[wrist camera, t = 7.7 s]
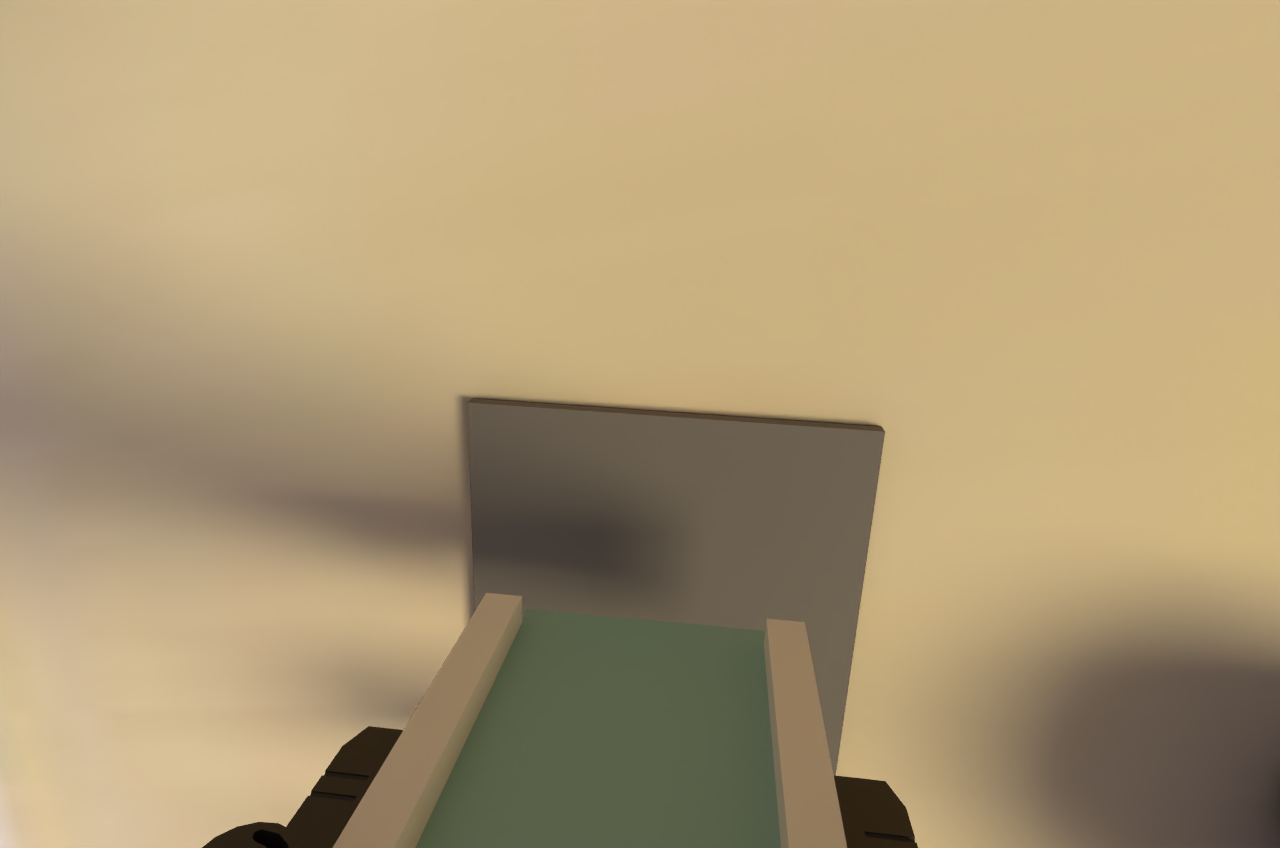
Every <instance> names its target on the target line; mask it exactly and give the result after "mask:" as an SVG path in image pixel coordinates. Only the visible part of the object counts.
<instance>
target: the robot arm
mask: <svg viewBox="0 0 1280 848" xmlns="http://www.w3.org/2000/svg"><path fill="white" fill-rule="evenodd" d="M521 624H522V596H515V595H504V594H493V593H486V594H485V596H484V597H483V599H482V601H481V602H480V604H479V606H478V607H477V609H476V611H475V612H474V614H473V615H472V617H471V619H470V620H469V622H468V624H467V625H466V627H465V629H464V630H463V632H462V634H461V635H460V637H459V639H458V640H457V642H456V644H455V645H454V647H453V649H452V650H451V652H450V654H449V655H448V657H447V659H446V660H445V662H444V664H443V665H442V667H441V669H440V670H439V672H438V674H437V675H436V677H435V679H434V680H433V682H432V684H431V685H430V687H429V689H428V690H427V692H426V694H425V695H424V697H423V698H422V700H421V702H420V703H419V705H418V707H417V708H416V710H415V712H414V713H413V715H412V717H411V718H410V720H409V722H408V723H407V725H406V727H405V728H404V730H397V729H388V728H379V727H370V726H369V727H367V728H366V729H365V730H363V731H362V732H361V733H359V734H358V735H357V736H355V737H354V738H353V739H351V740H350V741H349V742H347V743H346V744H345V745H343V746H342V748H341V749H340V751H339V752H338V753H337V755H336V756H335V758H334V759H333V761H332V762H331V763H330V765H329V766H328V768H327V769H326V771H325V775H324V776H321V778H320V779H319V781H318V782H317V784H316V785H315V786H314V788H313V789H312V791H311V795H310V796H308V797H307V798H306V799H305V801H304V802H303V804H302V805H301V807H300V808H299V809H298V811H297V812H296V814H295V815H294V817H293V818H292V820H291V821H290V822H289V824H288V825H287V827H284V826H282V825H280V824H279V823H265V822H257V823H253V824H248V825H243V826H239V827H236V828H234V829H232V830H229V831H227V832H225V833H223V834H221V835H219V836H217V837H215V838H214V839H212V840H211V841H210V842H209V843H207V844H206V845H205V846H204V847H202V848H415V847H416V845H417V843H418V841H419V839H420V837H421V835H422V832H423V830H424V828H425V826H426V824H427V822H428V820H429V818H430V816H431V814H432V811H433V809H434V807H435V805H436V803H437V801H438V799H439V797H440V795H441V792H442V790H443V788H444V786H445V784H446V782H447V780H448V778H449V776H450V773H451V771H452V769H453V767H454V765H455V763H456V761H457V759H458V757H459V755H460V752H461V750H462V748H463V746H464V744H465V742H466V740H467V738H468V736H469V733H470V731H471V729H472V727H473V725H474V723H475V721H476V719H477V717H478V714H479V712H480V710H481V708H482V706H483V704H484V702H485V700H486V698H487V696H488V693H489V691H490V689H491V687H492V685H493V683H494V681H495V679H496V677H497V674H498V672H499V670H500V668H501V666H502V664H503V662H504V660H505V658H506V656H507V653H508V651H509V649H510V647H511V645H512V643H513V641H514V639H515V637H516V634H517V632H518V630H519V628H520V626H521ZM764 654H765V666H766V678H767V689H768V701H769V713H770V725H771V736H772V748H773V760H774V771H775V783H776V795H777V807H778V818H779V830H780V842H781V848H918V847H917V843H915V837H914V833H913V830H912V826H911V823H910V820H909V816H908V813H907V810H906V807H905V806H904V805H903V803H902V802H901V801H900V800H899V798H898V797H897V796H896V794H895V793H894V792H893V791H892V789H891V788H890V787H889V785H888V784H887V783H886V781H878V780H869V779H860V778H851V777H842V776H834V775H833V769H832V764H831V759H830V753H829V748H828V743H827V737H826V732H825V727H824V721H823V716H822V711H821V705H820V700H819V695H818V689H817V684H816V679H815V673H814V668H813V663H812V657H811V652H810V647H809V641H808V636H807V631H806V625H805V622H798V621H788V620H777V619H766V628H765V638H764Z"/></svg>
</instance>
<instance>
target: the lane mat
mask: <svg viewBox="0 0 1280 848" xmlns="http://www.w3.org/2000/svg"><path fill="white" fill-rule="evenodd" d="M468 427H469V458H470V488H471V519H472V549H473V580H474V610H475V611H476V609H477V607H478V606H479V604H480V602H481V601H482V599H483V597H484V596H485V594H486V593H493V594H504V595H515V596H522V618H523V616H524V614H525V612H526V610H527V609H537V610H548V611H558V612H569V613H580V614H590V615H601V616H612V617H622V618H633V619H644V620H655V621H665V622H676V623H687V624H697V625H708V626H719V627H729V628H740V629H751V630H761V631H764V636H765V628H766V619H777V620H788V621H798V622H805V625H806V631H807V636H808V641H809V647H810V652H811V657H812V663H813V668H814V673H815V679H816V684H817V689H818V695H819V700H820V705H821V711H822V716H823V721H824V727H825V732H826V737H827V743H828V748H829V753H830V759H831V764H832V769H833V775H834V776H835V775H836V768H837V761H838V754H839V747H840V740H841V733H842V726H843V719H844V712H845V705H846V698H847V691H848V684H849V677H850V671H851V664H852V657H853V650H854V643H855V636H856V629H857V622H858V615H859V608H860V601H861V594H862V587H863V580H864V573H865V566H866V560H867V553H868V546H869V539H870V532H871V525H872V518H873V511H874V504H875V497H876V490H877V483H878V476H879V469H880V462H881V455H882V449H883V442H884V435H885V431H884V430H883V428H882V427H880V426H866V425H851V424H837V423H822V422H808V421H794V420H779V419H765V418H750V417H736V416H721V415H707V414H692V413H678V412H663V411H649V410H634V409H620V408H605V407H591V406H576V405H562V404H547V403H533V402H518V401H504V400H489V399H475V398H473V399H472V400H470V401H469V402H468Z"/></svg>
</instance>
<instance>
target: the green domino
mask: <svg viewBox="0 0 1280 848" xmlns="http://www.w3.org/2000/svg"><path fill="white" fill-rule="evenodd" d="M764 638H765V636H764V631H761V630H751V629H740V628H729V627H719V626H708V625H697V624H687V623H676V622H665V621H655V620H644V619H633V618H622V617H612V616H601V615H590V614H580V613H569V612H558V611H548V610H537V609H527V610H526V612H525V614H524V616H523V618H522V624H521V626H520V628H519V630H518V632H517V634H516V637H515V639H514V641H513V643H512V645H511V647H510V649H509V651H508V653H507V656H506V658H505V660H504V662H503V664H502V666H501V668H500V670H499V672H498V674H497V677H496V679H495V681H494V683H493V685H492V687H491V689H490V691H489V693H488V696H487V698H486V700H485V702H484V704H483V706H482V708H481V710H480V712H479V714H478V717H477V719H476V721H475V723H474V725H473V727H472V729H471V731H470V733H469V736H468V738H467V740H466V742H465V744H464V746H463V748H462V750H461V752H460V755H459V757H458V759H457V761H456V763H455V765H454V767H453V769H452V771H451V773H450V776H449V778H448V780H447V782H446V784H445V786H444V788H443V790H442V792H441V795H440V797H439V799H438V801H437V803H436V805H435V807H434V809H433V811H432V814H431V816H430V818H429V820H428V822H427V824H426V826H425V828H424V830H423V832H422V835H421V837H420V839H419V841H418V843H417V845H416V847H415V848H781V842H780V830H779V818H778V807H777V795H776V783H775V771H774V760H773V748H772V736H771V725H770V713H769V701H768V689H767V678H766V666H765V654H764Z"/></svg>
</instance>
